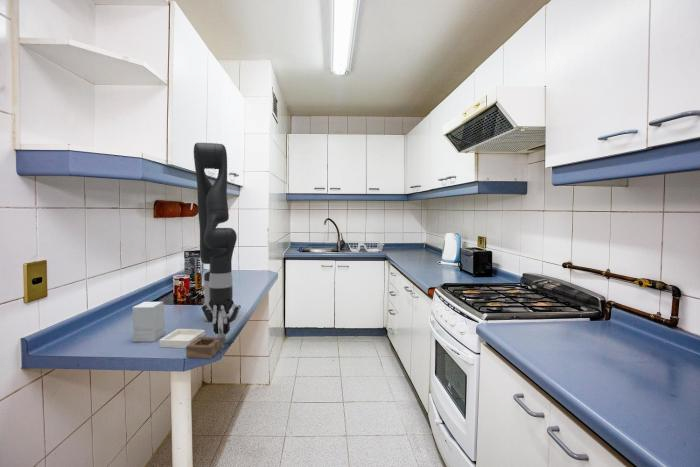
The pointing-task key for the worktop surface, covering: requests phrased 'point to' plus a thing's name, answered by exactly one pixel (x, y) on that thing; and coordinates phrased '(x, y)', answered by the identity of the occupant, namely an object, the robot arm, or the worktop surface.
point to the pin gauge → (221, 327)
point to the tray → (181, 338)
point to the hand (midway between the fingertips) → (221, 333)
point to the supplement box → (148, 321)
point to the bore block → (204, 347)
